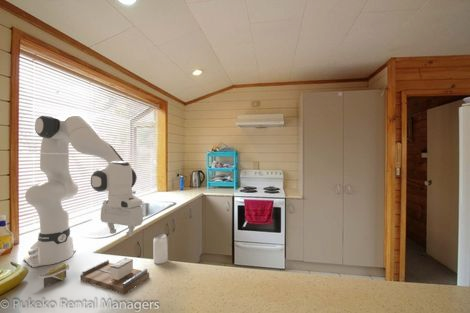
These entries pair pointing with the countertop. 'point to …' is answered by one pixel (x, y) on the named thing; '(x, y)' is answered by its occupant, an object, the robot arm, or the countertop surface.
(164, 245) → the can
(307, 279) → the countertop surface
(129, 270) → the white lidded box
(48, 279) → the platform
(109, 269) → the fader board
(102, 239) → the countertop surface
